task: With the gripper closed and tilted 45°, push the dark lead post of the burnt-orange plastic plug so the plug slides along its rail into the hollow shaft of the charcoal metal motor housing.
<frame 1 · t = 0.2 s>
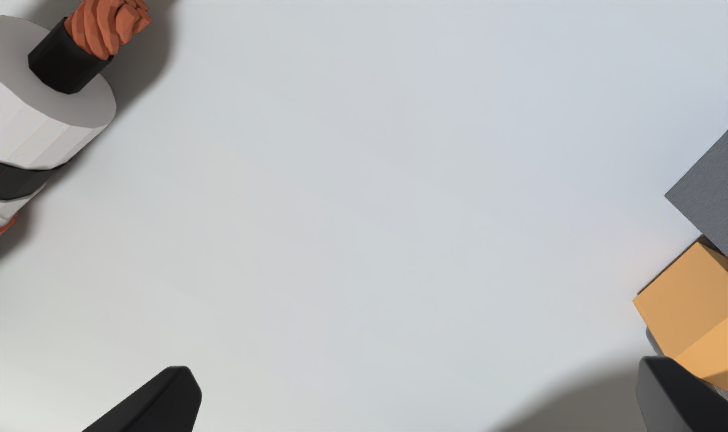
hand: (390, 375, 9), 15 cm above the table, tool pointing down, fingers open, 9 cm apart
plug: (724, 336, 20), point 3 cm above the table, slide at -6.0 cm
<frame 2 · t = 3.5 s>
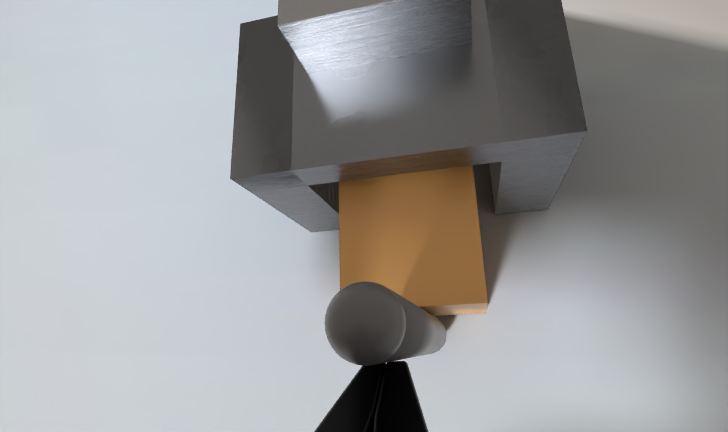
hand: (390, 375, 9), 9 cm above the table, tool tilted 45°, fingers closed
housing: (417, 162, 19), on the table
plug: (414, 256, 15), point 3 cm above the table, slide at -4.4 cm, touching gripper
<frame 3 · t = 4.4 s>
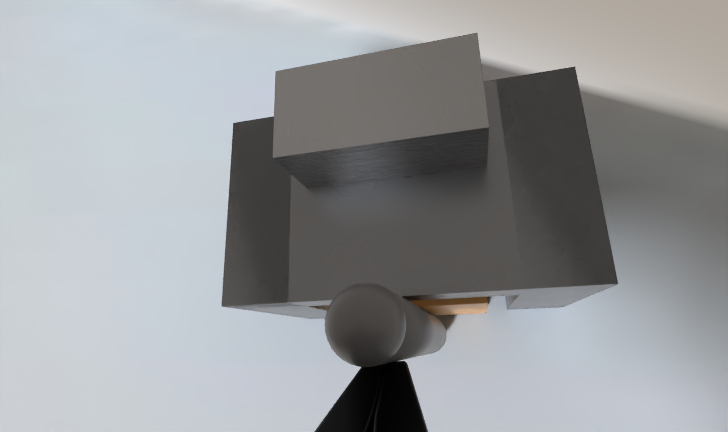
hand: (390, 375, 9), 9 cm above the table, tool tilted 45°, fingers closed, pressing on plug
housing: (423, 246, 18), on the table
plug: (414, 256, 15), point 3 cm above the table, slide at -0.6 cm, touching gripper
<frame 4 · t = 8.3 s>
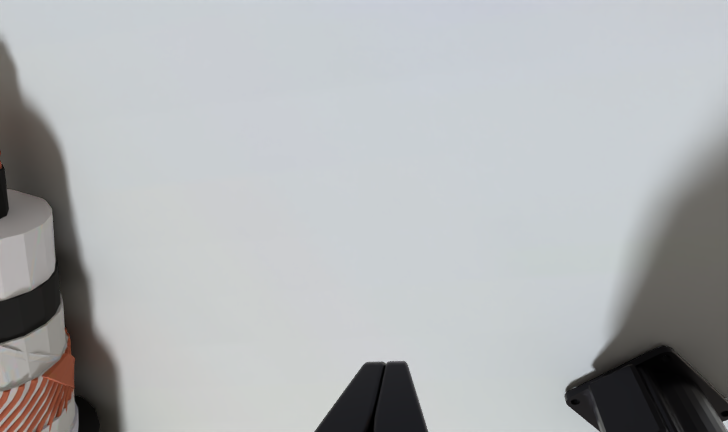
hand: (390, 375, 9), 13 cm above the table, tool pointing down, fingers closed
striped tapered cylinder: (58, 327, 31), on the table
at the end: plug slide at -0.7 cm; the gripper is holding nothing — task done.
